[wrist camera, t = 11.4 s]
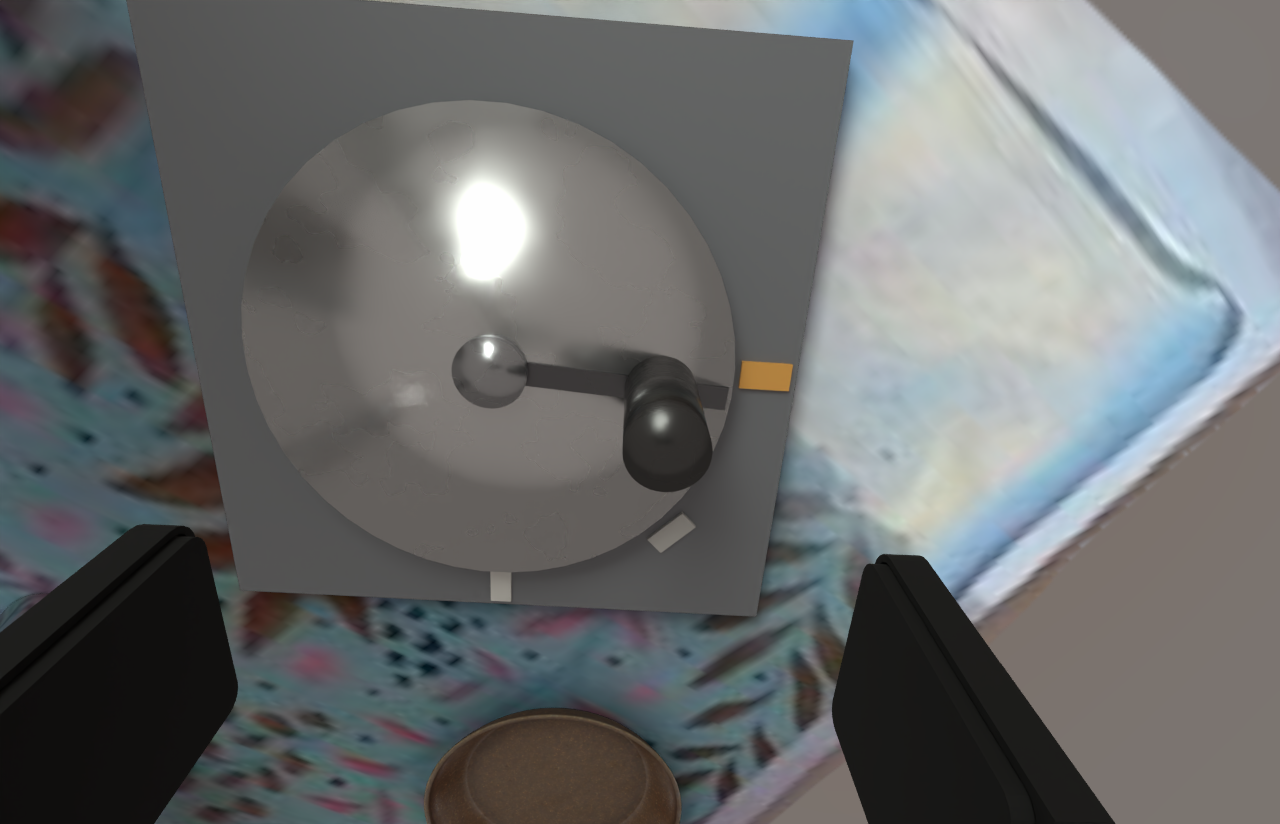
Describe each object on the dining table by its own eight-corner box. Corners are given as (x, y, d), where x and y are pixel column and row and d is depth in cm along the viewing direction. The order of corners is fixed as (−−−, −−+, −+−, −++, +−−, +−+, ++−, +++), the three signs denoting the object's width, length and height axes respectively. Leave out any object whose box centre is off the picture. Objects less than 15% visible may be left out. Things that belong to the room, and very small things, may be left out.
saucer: (658, 664, 37) (660, 701, 34) (693, 839, 42) (697, 882, 40) (405, 698, 38) (389, 738, 35) (472, 866, 43) (462, 910, 41)
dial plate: (151, -11, 24) (118, -21, 23) (841, 46, 25) (855, 39, 24) (256, 572, 34) (238, 592, 32) (751, 597, 35) (756, 619, 33)
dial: (275, 533, 31) (177, 639, 24) (235, 63, 24) (78, 30, 17) (690, 578, 32) (705, 690, 26) (775, 144, 25) (828, 142, 18)
